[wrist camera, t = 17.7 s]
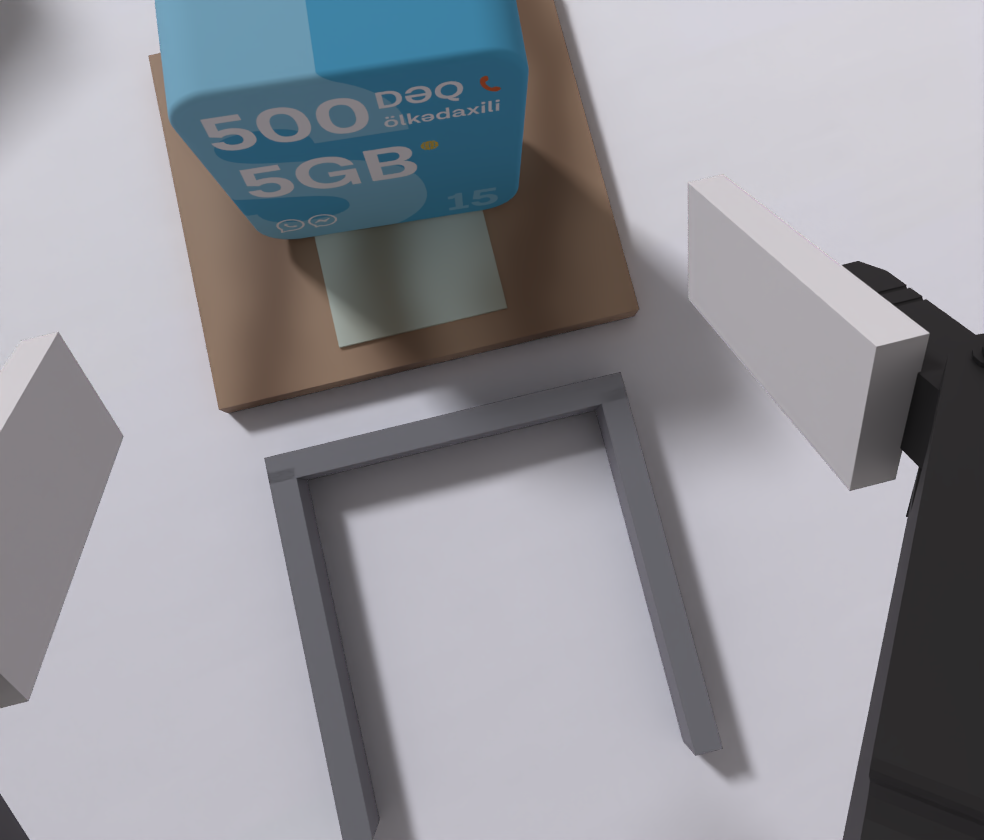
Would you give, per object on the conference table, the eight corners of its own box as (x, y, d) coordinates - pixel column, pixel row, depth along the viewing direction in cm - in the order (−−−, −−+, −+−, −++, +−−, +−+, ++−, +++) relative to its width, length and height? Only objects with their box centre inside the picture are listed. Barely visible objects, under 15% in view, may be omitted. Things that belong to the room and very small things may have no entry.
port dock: (228, 413, 35) (217, 409, 34) (159, 70, 37) (146, 53, 36) (634, 315, 36) (639, 308, 34) (542, -15, 38) (544, -35, 37)
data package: (266, 245, 35) (149, 105, 23) (254, 156, 35) (134, -28, 23) (518, 206, 35) (532, 47, 23) (502, 118, 35) (509, -83, 24)
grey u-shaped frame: (353, 826, 33) (344, 847, 31) (277, 461, 35) (264, 458, 33) (708, 734, 33) (722, 748, 31) (613, 380, 35) (620, 372, 33)
